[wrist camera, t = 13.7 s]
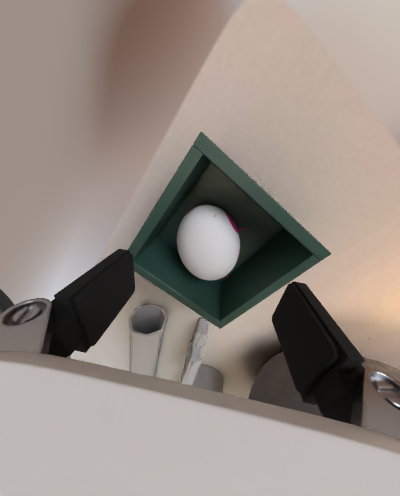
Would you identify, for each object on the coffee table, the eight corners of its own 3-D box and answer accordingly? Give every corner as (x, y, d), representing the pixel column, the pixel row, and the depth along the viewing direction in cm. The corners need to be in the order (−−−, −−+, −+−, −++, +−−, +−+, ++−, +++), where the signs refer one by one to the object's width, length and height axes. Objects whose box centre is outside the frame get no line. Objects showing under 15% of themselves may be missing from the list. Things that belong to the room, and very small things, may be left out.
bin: (221, 286, 21) (220, 329, 15) (151, 235, 19) (120, 262, 13) (293, 225, 16) (331, 253, 11) (210, 148, 14) (201, 130, 9)
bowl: (455, 352, 20) (891, 686, 7) (330, 414, 31) (409, 592, 18) (284, 292, 20) (406, 526, 7) (218, 376, 31) (215, 529, 18)
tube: (152, 405, 32) (166, 335, 21) (125, 409, 31) (124, 337, 19) (154, 375, 37) (167, 303, 25) (130, 377, 35) (132, 303, 24)
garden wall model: (199, 315, 24) (192, 355, 19) (210, 318, 24) (206, 359, 19) (185, 356, 30) (176, 395, 24) (193, 358, 30) (187, 398, 24)
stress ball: (230, 247, 21) (270, 266, 16) (178, 271, 19) (203, 305, 13) (221, 191, 18) (267, 190, 12) (157, 212, 16) (178, 222, 10)
